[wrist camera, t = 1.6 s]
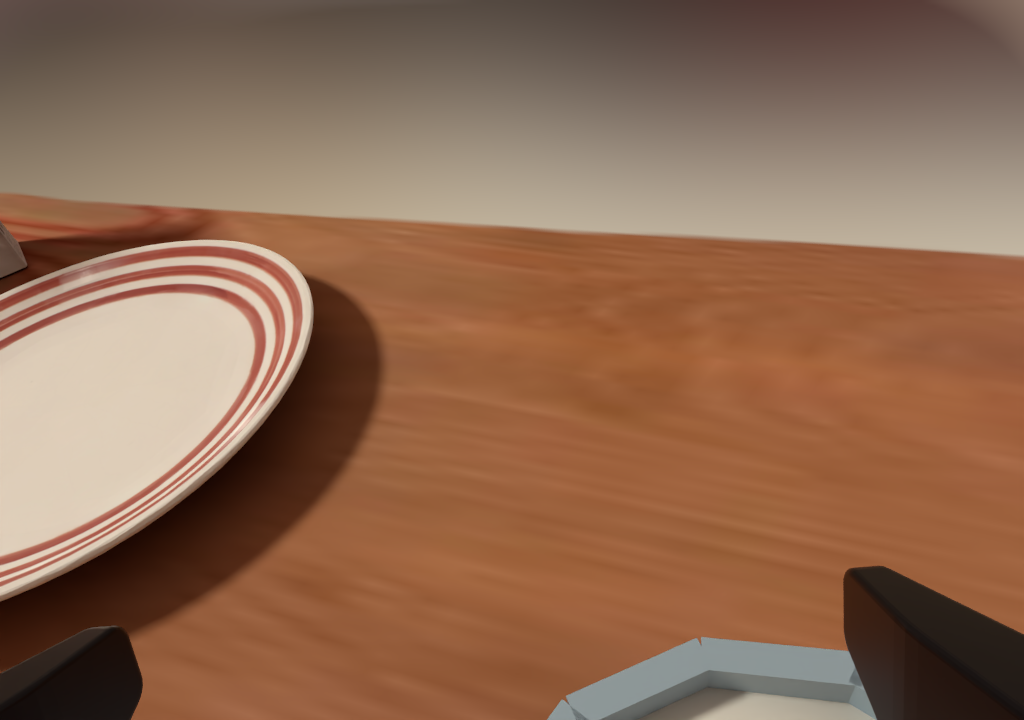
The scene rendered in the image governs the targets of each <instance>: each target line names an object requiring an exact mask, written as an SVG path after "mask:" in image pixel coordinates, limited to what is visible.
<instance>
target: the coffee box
mask: <svg viewBox="0 0 1024 720" xmlns="http://www.w3.org/2000/svg"><path fill="white" fill-rule="evenodd" d="M25 267H27V262H26V260H25V257H24V255H23V252H22V250H21V248H20V245H19V243H18V242H17V240H16V239H15V238H14V237H13V236H12V235H11V234H10V232H9V231H8V230H7V229H6V227H5V226H4V225H3V224H2V222H1V221H0V278H2V277H4V276H6V275H9V274H11V273H14V272H16V271H18V270H21V269H23V268H25Z"/></svg>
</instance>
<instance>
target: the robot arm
mask: <svg viewBox="0 0 1024 720" xmlns="http://www.w3.org/2000/svg"><path fill="white" fill-rule="evenodd" d="M843 590H844V635H845V640H846V644H847V647H848V650H849V653H850V656H851V658H852V660H853V663H854V665H855V668H856V670H857V673H858V675H859V677H860V680H861V682H862V685H863V687H864V689H865V692H866V694H867V697H868V699H869V702H870V704H871V706H872V709H873V711H874V714H875V716H876V718H877V720H1024V634H1022V633H1020V632H1018V631H1016V630H1014V629H1011V628H1009V627H1007V626H1005V625H1003V624H1001V623H999V622H997V621H995V620H993V619H991V618H989V617H987V616H985V615H983V614H981V613H979V612H977V611H975V610H973V609H971V608H969V607H966V606H964V605H962V604H960V603H958V602H956V601H954V600H952V599H950V598H948V597H946V596H944V595H942V594H940V593H938V592H936V591H934V590H932V589H930V588H928V587H926V586H924V585H921V584H919V583H917V582H915V581H913V580H911V579H909V578H907V577H905V576H903V575H901V574H899V573H897V572H895V571H893V570H891V569H889V568H886V567H884V566H870V567H858V568H850V569H848V570H847V571H846V573H845V576H844V582H843ZM142 687H143V682H142V675H141V672H140V669H139V666H138V663H137V660H136V657H135V654H134V651H133V648H132V645H131V642H130V639H129V636H128V634H127V632H126V631H125V630H124V629H123V628H122V627H119V626H106V627H93V628H88V629H86V630H83V631H81V632H79V633H78V634H76V635H74V636H72V637H70V638H68V639H66V640H64V641H62V642H60V643H58V644H56V645H54V646H52V647H50V648H49V649H47V650H45V651H43V652H41V653H39V654H37V655H35V656H33V657H31V658H29V659H27V660H25V661H23V662H22V663H20V664H18V665H16V666H14V667H12V668H10V669H8V670H6V671H4V672H2V673H0V720H131V718H132V715H133V713H134V711H135V709H136V707H137V705H138V702H139V700H140V697H141V693H142Z"/></svg>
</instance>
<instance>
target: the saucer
mask: <svg viewBox="0 0 1024 720" xmlns="http://www.w3.org/2000/svg"><path fill="white" fill-rule="evenodd" d="M566 698H567V703H566V702H565V701H564V700H561V701H560V703H559V704H558V705H557V707H556V708H555V710H554V711H553V712H552V714H551V715H550V716H549V718H548V719H547V720H877V718H876V716H875V714H874V711H873V709H872V706H871V704H870V702H869V699H868V697H867V694H866V692H865V689H864V687H863V685H862V682H861V680H860V677H859V675H858V673H857V670H856V668H855V665H854V663H853V660H852V658H851V656H850V653H849V651H841V650H831V649H820V648H810V647H799V646H789V645H778V644H768V643H757V642H747V641H736V640H726V639H715V638H705V637H701V644H700V643H699V641H698V640H697V638H695V639H693V640H691V641H688V642H686V643H684V644H682V645H679V646H677V647H675V648H673V649H670V650H668V651H666V652H664V653H661V654H659V655H657V656H655V657H652V658H650V659H648V660H646V661H643V662H641V663H639V664H637V665H634V666H632V667H630V668H628V669H625V670H623V671H621V672H619V673H616V674H614V675H612V676H610V677H607V678H605V679H603V680H601V681H598V682H596V683H594V684H592V685H589V686H587V687H585V688H583V689H581V690H578V691H576V692H574V693H572V694H569V695H567V696H566Z"/></svg>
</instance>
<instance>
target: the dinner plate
mask: <svg viewBox="0 0 1024 720" xmlns="http://www.w3.org/2000/svg"><path fill="white" fill-rule="evenodd" d="M313 314H314V307H313V301H312V296H311V292H310V289H309V286H308V284H307V282H306V280H305V278H304V277H303V275H302V274H301V272H300V271H299V270H298V269H297V268H296V267H295V266H294V265H293V264H292V263H290V262H289V261H288V260H287V259H285V258H284V257H282V256H280V255H279V254H277V253H275V252H273V251H270V250H268V249H265V248H262V247H259V246H255V245H252V244H247V243H242V242H235V241H225V240H192V241H177V242H169V243H161V244H155V245H148V246H143V247H138V248H133V249H128V250H124V251H120V252H115V253H111V254H108V255H104V256H101V257H97V258H94V259H91V260H88V261H84V262H81V263H78V264H75V265H72V266H69V267H67V268H64V269H61V270H58V271H56V272H53V273H50V274H47V275H45V276H43V277H40V278H38V279H35V280H33V281H30V282H28V283H25V284H23V285H21V286H19V287H16V288H14V289H12V290H10V291H8V292H5V293H3V294H1V295H0V601H3V600H6V599H8V598H11V597H13V596H15V595H18V594H20V593H23V592H25V591H27V590H30V589H32V588H35V587H37V586H39V585H41V584H44V583H46V582H48V581H50V580H52V579H54V578H56V577H58V576H61V575H63V574H65V573H67V572H69V571H71V570H73V569H75V568H77V567H79V566H81V565H82V564H84V563H86V562H88V561H90V560H92V559H94V558H96V557H97V556H99V555H101V554H103V553H105V552H106V551H108V550H110V549H111V548H113V547H114V546H116V545H118V544H119V543H121V542H123V541H124V540H126V539H127V538H129V537H131V536H132V535H134V534H136V533H137V532H139V531H140V530H142V529H143V528H145V527H146V526H148V525H149V524H151V523H152V522H154V521H155V520H156V519H158V518H159V517H161V516H162V515H164V514H165V513H166V512H168V511H169V510H171V509H172V508H173V507H174V506H176V505H177V504H178V503H180V502H181V501H182V500H184V499H185V498H186V497H187V496H189V495H190V494H191V493H193V492H194V491H195V490H197V489H198V488H199V487H200V486H201V485H202V484H204V483H205V482H206V481H207V480H208V479H209V478H210V477H212V476H213V475H214V474H215V473H216V472H217V471H219V470H220V469H221V468H222V467H223V466H224V465H225V464H226V463H227V462H228V461H229V460H230V459H231V458H232V457H233V456H234V455H235V454H236V453H237V452H238V451H239V450H240V449H241V448H242V447H243V446H244V445H245V444H246V442H247V441H248V440H249V439H250V438H251V437H252V436H253V435H254V434H255V432H256V431H257V430H258V429H259V428H260V426H261V425H262V424H263V423H264V422H265V420H266V419H267V418H268V416H269V415H270V414H271V412H272V411H273V410H274V409H275V407H276V406H277V405H278V403H279V402H280V400H281V399H282V397H283V395H284V394H285V392H286V391H287V389H288V388H289V386H290V385H291V383H292V381H293V379H294V377H295V375H296V373H297V371H298V370H299V368H300V365H301V363H302V361H303V358H304V356H305V354H306V351H307V348H308V345H309V342H310V338H311V333H312V329H313Z"/></svg>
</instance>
